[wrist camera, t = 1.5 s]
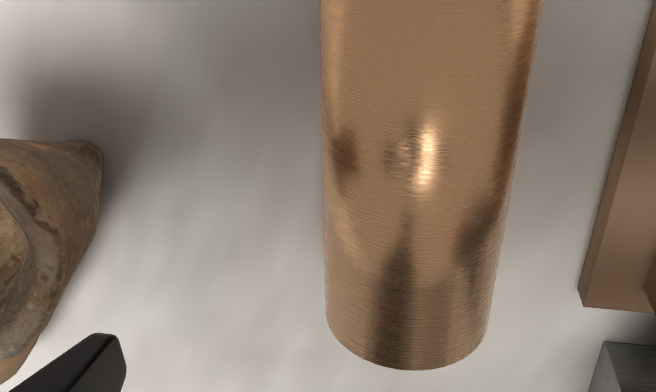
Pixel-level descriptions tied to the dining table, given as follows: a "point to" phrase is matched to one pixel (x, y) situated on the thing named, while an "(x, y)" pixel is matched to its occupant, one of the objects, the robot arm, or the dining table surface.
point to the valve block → (625, 369)
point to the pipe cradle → (628, 204)
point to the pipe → (41, 234)
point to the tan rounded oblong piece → (419, 168)
